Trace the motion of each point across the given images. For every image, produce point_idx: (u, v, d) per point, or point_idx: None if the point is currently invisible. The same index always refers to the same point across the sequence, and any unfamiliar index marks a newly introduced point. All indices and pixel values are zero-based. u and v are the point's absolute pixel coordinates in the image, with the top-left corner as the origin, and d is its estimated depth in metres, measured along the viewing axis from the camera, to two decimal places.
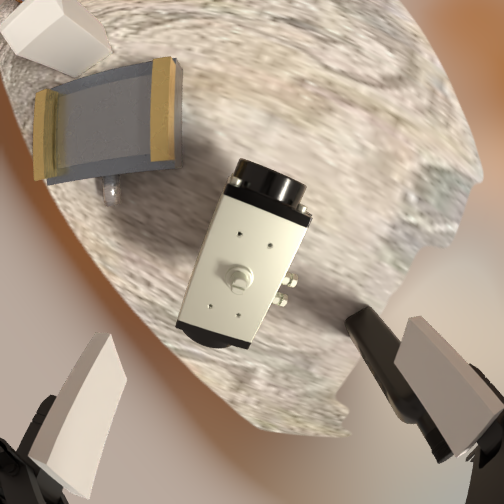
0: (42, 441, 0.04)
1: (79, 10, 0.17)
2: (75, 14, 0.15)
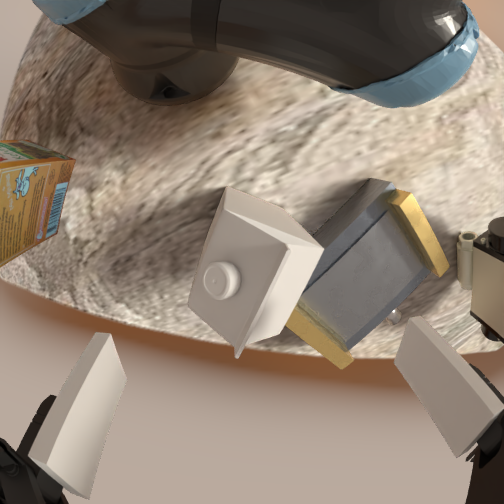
0: (42, 441, 0.04)
1: (256, 209, 0.22)
2: (285, 224, 0.20)
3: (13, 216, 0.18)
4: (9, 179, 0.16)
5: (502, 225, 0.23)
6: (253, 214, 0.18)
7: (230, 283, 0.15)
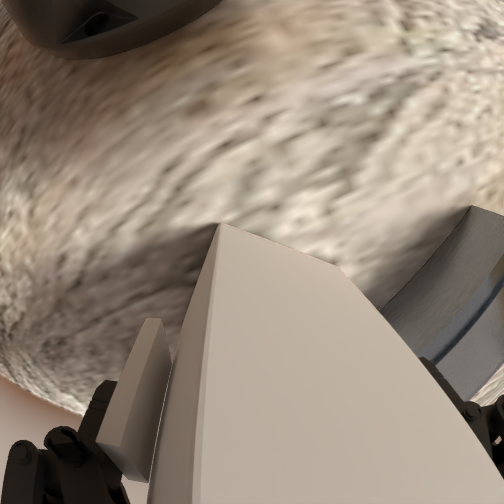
0: (111, 424, 0.06)
1: (328, 368, 0.05)
2: (426, 427, 0.04)
3: None
4: None
5: None
6: None
7: None
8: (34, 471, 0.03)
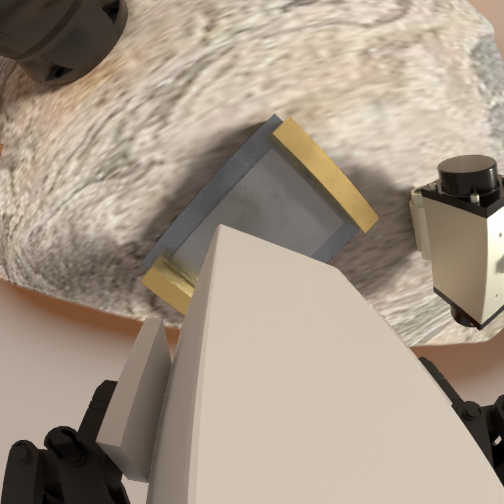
0: (111, 424, 0.06)
1: (325, 371, 0.05)
2: (423, 431, 0.04)
3: None
4: None
5: (458, 162, 0.19)
6: None
7: None
8: (34, 471, 0.03)
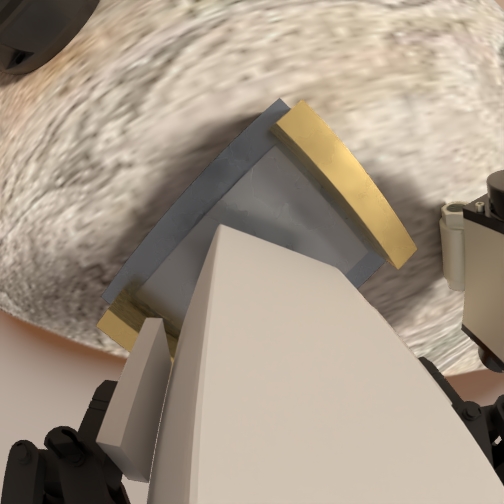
0: (111, 424, 0.06)
1: (326, 372, 0.05)
2: (424, 431, 0.04)
3: None
4: None
5: None
6: None
7: None
8: (34, 471, 0.03)
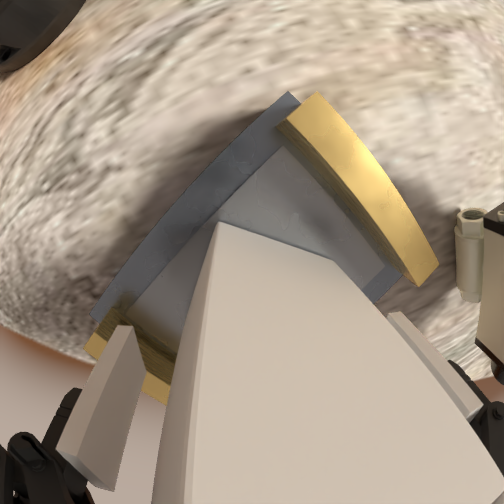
0: (71, 433, 0.05)
1: (316, 352, 0.06)
2: (412, 409, 0.04)
3: None
4: None
5: None
6: (338, 476, 0.03)
7: None
8: (3, 471, 0.03)
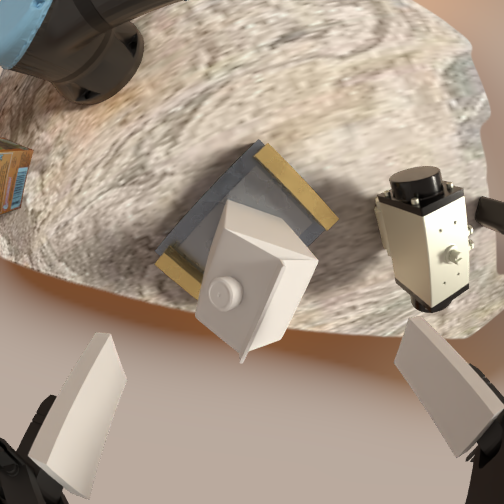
0: (42, 441, 0.04)
1: (255, 223, 0.23)
2: (282, 237, 0.22)
3: None
4: None
5: (407, 173, 0.27)
6: (252, 230, 0.20)
7: (233, 296, 0.16)
8: None
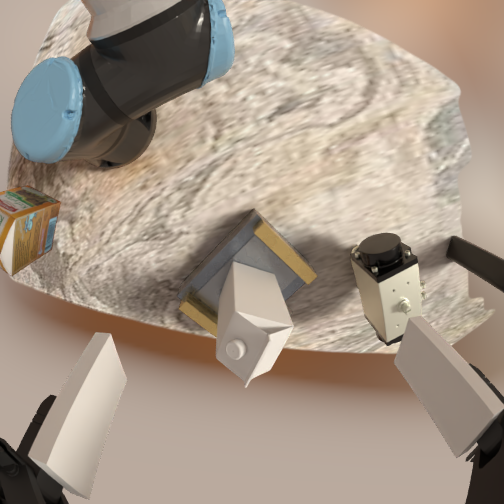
0: (42, 441, 0.04)
1: (254, 294, 0.34)
2: (272, 306, 0.33)
3: (23, 242, 0.33)
4: (21, 223, 0.30)
5: (374, 241, 0.38)
6: (252, 306, 0.31)
7: (241, 352, 0.27)
8: None
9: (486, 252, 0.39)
